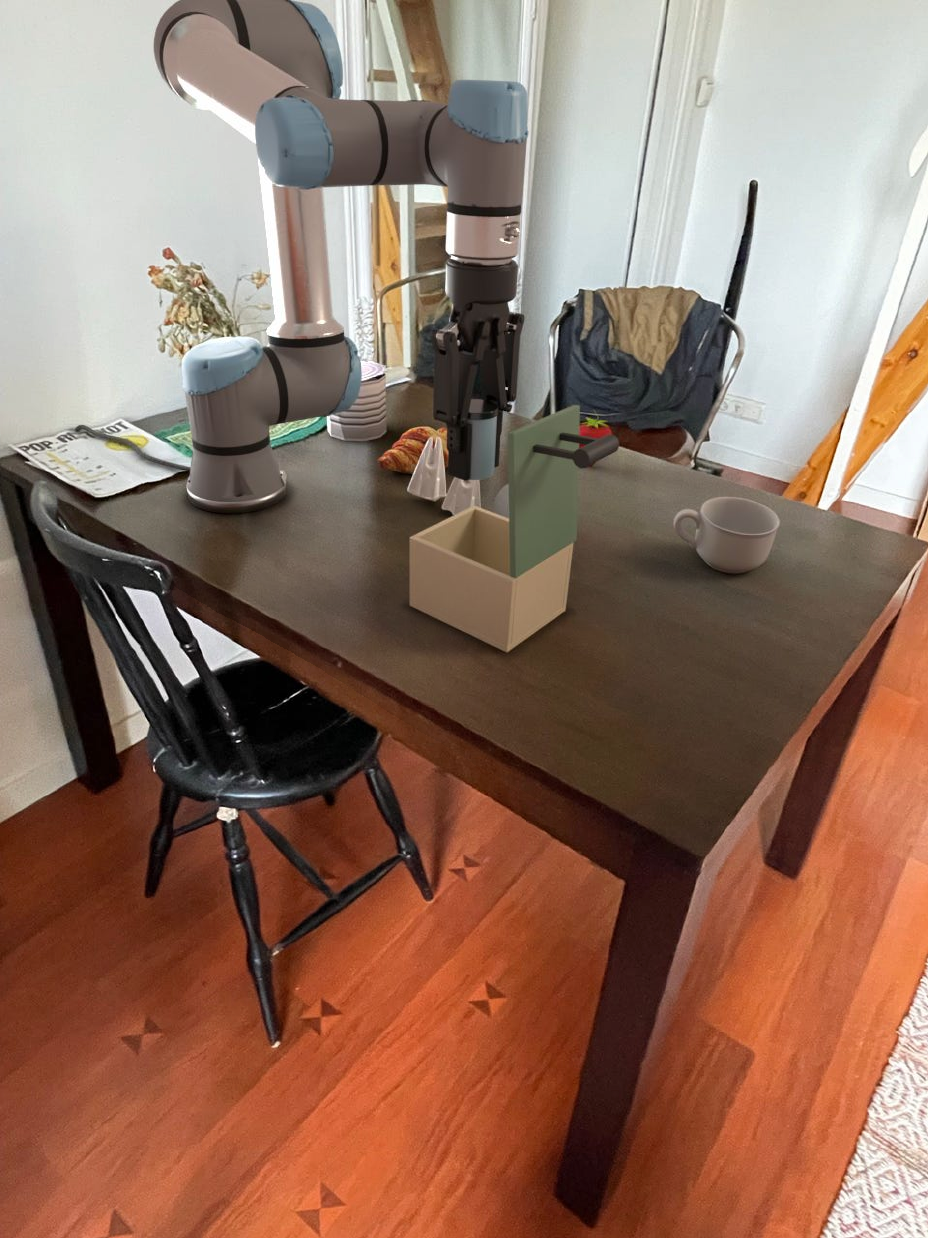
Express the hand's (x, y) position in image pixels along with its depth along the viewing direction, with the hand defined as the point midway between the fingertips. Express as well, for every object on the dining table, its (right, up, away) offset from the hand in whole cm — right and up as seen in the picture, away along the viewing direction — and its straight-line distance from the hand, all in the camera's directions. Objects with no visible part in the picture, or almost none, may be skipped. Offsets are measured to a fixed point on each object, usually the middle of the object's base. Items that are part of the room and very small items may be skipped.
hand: (473, 469), depth 98 cm
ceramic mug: (+9, -5, +26) cm, 28 cm away
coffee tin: (0, 0, 0) cm, 0 cm away
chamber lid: (+8, -3, -5) cm, 10 cm away
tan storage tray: (+2, -16, +8) cm, 18 cm away
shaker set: (-4, 0, +33) cm, 33 cm away
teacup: (+35, -10, +21) cm, 42 cm away
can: (-22, +18, +60) cm, 66 cm away
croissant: (-7, +10, +48) cm, 49 cm away
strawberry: (+21, +9, +50) cm, 55 cm away
